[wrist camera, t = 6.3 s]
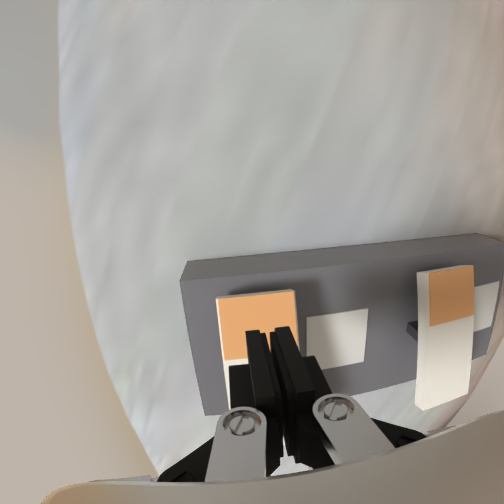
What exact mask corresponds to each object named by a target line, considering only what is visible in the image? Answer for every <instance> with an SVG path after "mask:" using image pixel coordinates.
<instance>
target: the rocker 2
mask: <svg viewBox="0 0 504 504" xmlns="http://www.w3.org/2000/svg"><path fill="white" fill-rule="evenodd" d="M417 292H418V358H417V378H416V392H415V405H416V406H418V407H419V408H420V409H422V410H423V411H424V410H427V409H430V408H432V407H435V406H438V405H440V404H443V403H445V402H448V401H451V400H453V399H456V398H458V397H460V396H463V395H465V394H467V393H468V387H469V379H470V370H471V359H472V346H473V328H474V268H473V265H459V266H453V267H447V268H441V269H435V270H428V271H422V272H417Z"/></svg>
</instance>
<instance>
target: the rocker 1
mask: <svg viewBox="0 0 504 504" xmlns="http://www.w3.org/2000/svg"><path fill="white" fill-rule="evenodd" d="M216 306H217V315H218V324H219V333H220V341H221V350H222V358H223V366H224V374H225V382H226V389H227V397H228V404H229V410H230V409H231V408H230V388H229V366H230V365H241V364H248V355H247V345H246V335H245V331H249V330H260V333H266V337H267V340H268V344H269V348H270V332H274V330H275V328H276V327H285V326H289V327H290V329H291V332H292V334H293V336H294V339H295V341H296V344H297V346H298V349H299V335H298V322H297V310H296V298H295V291H294V290H292V289H286V290H277V291H268V292H258V293H248V294H238V295H228V296H217V297H216ZM299 351H300V349H299ZM270 352H271V351H270ZM284 445H285V442H284V437H283V446H284Z"/></svg>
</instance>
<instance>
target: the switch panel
mask: <svg viewBox="0 0 504 504" xmlns="http://www.w3.org/2000/svg"><path fill="white" fill-rule="evenodd" d="M459 265H473V268H474V328H473V346H472V359H471V360H473V359H475V358H478V357H480V356H483V355H485V354H486V353H487V349H488V345H489V342H490V338H491V334H492V330H493V326H494V321H495V317H496V312H497V307H498V302H499V297H500V292H501V286H502V280H503V273H504V242H501V241H498V240H495V239H492V238H489V237H486V236H483V235H480V234H477V233H475V234H465V235H455V236H445V237H435V238H425V239H415V240H405V241H394V242H384V243H374V244H364V245H354V246H343V247H333V248H323V249H312V250H302V251H291V252H281V253H271V254H260V255H250V256H239V257H228V258H218V259H207V260H196V261H187V263H186V266H185V268H184V271H183V273H182V276H181V279H180V287H181V293H182V300H183V306H184V312H185V318H186V324H187V329H188V335H189V340H190V346H191V351H192V356H193V361H194V367H195V372H196V376H197V381H198V386H199V391H200V395H201V400H202V405H203V409H204V413H205V416H207V415H222V414H223V413H225V412H226V411H228V410H229V404H228V397H227V389H226V382H225V374H224V366H223V358H222V350H221V341H220V333H219V324H218V315H217V306H216V297H217V296H228V295H238V294H248V293H258V292H268V291H277V290H286V289H292V290H294V291H295V298H296V310H297V322H298V335H299V349H300V353H301V356H302V357H305V356H312V355H314V356H315V358H316V360H317V362H318V364H319V366H320V368H321V370H322V372H323V374H324V376H325V378H326V381H327V383H328V385H329V387H330V389H331V391H332V393H333V394H344V395H348V396H352V395H357V394H361V393H365V392H370V391H374V390H378V389H382V388H385V387H389V386H393V385H397V384H400V383H404V382H407V381H411V380H414V379H416V378H417V358H418V292H417V272H422V271H428V270H435V269H441V268H447V267H453V266H459Z"/></svg>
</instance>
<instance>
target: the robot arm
mask: <svg viewBox="0 0 504 504" xmlns="http://www.w3.org/2000/svg"><path fill="white" fill-rule="evenodd" d="M245 335H246V345H247V355H248V364H241V365H230V366H229V388H230V408H231V409H230V410H228V411H226V412H225V413H223V414H222V415H221V416H220V418H219V420H218V422H217V427H216V432H215V436H214V437H213V438H211V439H210V440H209V441H207V442H206V443H204V444H203V445H202V446H200V447H199V448H197V449H196V450H195V451H193V452H192V453H190V454H189V455H188V456H186V457H185V458H183V459H182V460H180V461H179V462H177V463H176V464H174V465H173V466H171V467H170V468H168V469H167V470H165V471H164V472H163V473H162V474H161V475H160V476H159V477H157V478H151V476H150V475H148V476H140V477H132V478H121V479H109V480H95V481H90V482H86V483H81V484H74V485H69V486H66V487H62V488H59V489H57V490H55V491H53V492H51V493H50V494H49V495H48V496H46V498H45V499H44V500H43V501H42V503H41V504H504V410H503V411H498V412H494V413H491V414H486V415H484V416H481V417H478V418H475V419H472V420H470V421H468V422H465V423H462V424H460V425H457V426H452V427H447V428H442V429H437V430H431V431H428V432H427V434H426V435H424V434H422V433H421V432H418V431H415V430H412V429H408V428H404V427H401V426H397V425H393V424H390V423H386V422H383V421H380V420H376V419H373V418H370V417H369V416H368V414H367V413H366V412H365V411H364V410H363V408H362V407H361V406H360V405H359V404H358V402H357V401H356V400H355V399H353V398H352V397H350V396H348V395H344V394H333V393H332V391H331V389H330V387H329V385H328V383H327V381H326V378H325V376H324V374H323V372H322V370H321V368H320V366H319V364H318V362H317V360H316V358H315V356H314V355H312V356H305V357H302V356H301V353H300V351H299V349H298V346H297V344H296V341H295V339H294V336H293V334H292V332H291V329H290V327H289V326H285V327H276V328H275V330H274V332H270V348H269V344H268V340H267V337H266V333H260V330H249V331H245ZM270 351H271V352H270ZM283 437H284V442H285V446H286V450H287V454H288V456H293V455H294V459H295V463H302V464H305V465H307V466H309V470H308V471H303V472H297V473H291V474H284V475H277V476H270V475H271V474H272V473H273V472H274V471H275V470H276V469H277V468H278V467H279V466H280V457H283Z"/></svg>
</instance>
